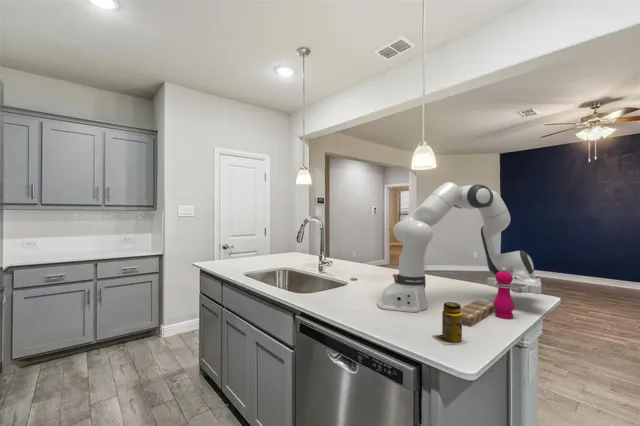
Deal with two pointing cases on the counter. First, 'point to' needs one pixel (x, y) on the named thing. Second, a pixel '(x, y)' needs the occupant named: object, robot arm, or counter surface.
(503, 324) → the counter surface
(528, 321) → the counter surface
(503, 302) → the pepper mill
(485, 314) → the board
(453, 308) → the condiment
